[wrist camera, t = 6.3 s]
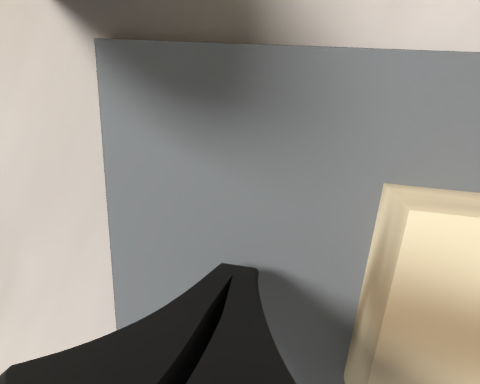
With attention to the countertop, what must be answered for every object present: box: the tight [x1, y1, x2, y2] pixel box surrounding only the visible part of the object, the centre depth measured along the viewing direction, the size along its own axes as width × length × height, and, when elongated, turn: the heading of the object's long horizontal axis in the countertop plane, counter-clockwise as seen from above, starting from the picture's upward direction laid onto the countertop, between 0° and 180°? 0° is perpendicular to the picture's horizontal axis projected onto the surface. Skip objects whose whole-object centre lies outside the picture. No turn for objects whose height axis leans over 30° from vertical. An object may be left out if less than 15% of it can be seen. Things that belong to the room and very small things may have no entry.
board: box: [94, 38, 480, 384], centre depth 12 cm, size 18×21×1 cm
